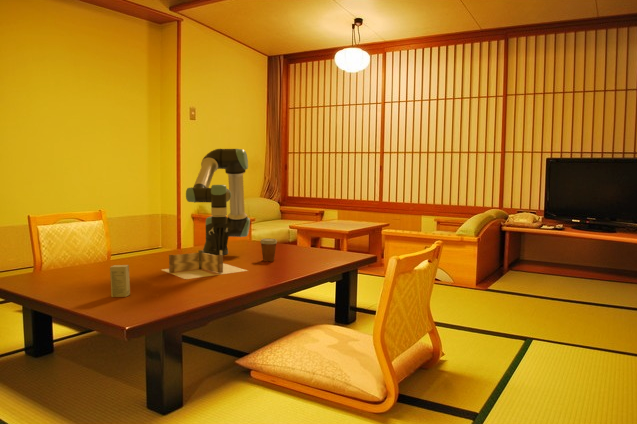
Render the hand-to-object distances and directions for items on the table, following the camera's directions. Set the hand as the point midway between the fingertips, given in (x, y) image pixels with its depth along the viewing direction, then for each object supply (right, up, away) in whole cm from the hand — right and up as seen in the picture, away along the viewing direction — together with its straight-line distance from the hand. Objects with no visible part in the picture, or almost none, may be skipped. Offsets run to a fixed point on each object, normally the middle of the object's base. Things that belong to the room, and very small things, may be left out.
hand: (219, 263), depth 249 cm
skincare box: (-30, -8, -49) cm, 58 cm away
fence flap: (-4, -4, 0) cm, 5 cm away
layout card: (-8, -4, +3) cm, 10 cm away
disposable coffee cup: (+21, -2, +35) cm, 41 cm away
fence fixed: (-17, -4, +1) cm, 17 cm away
